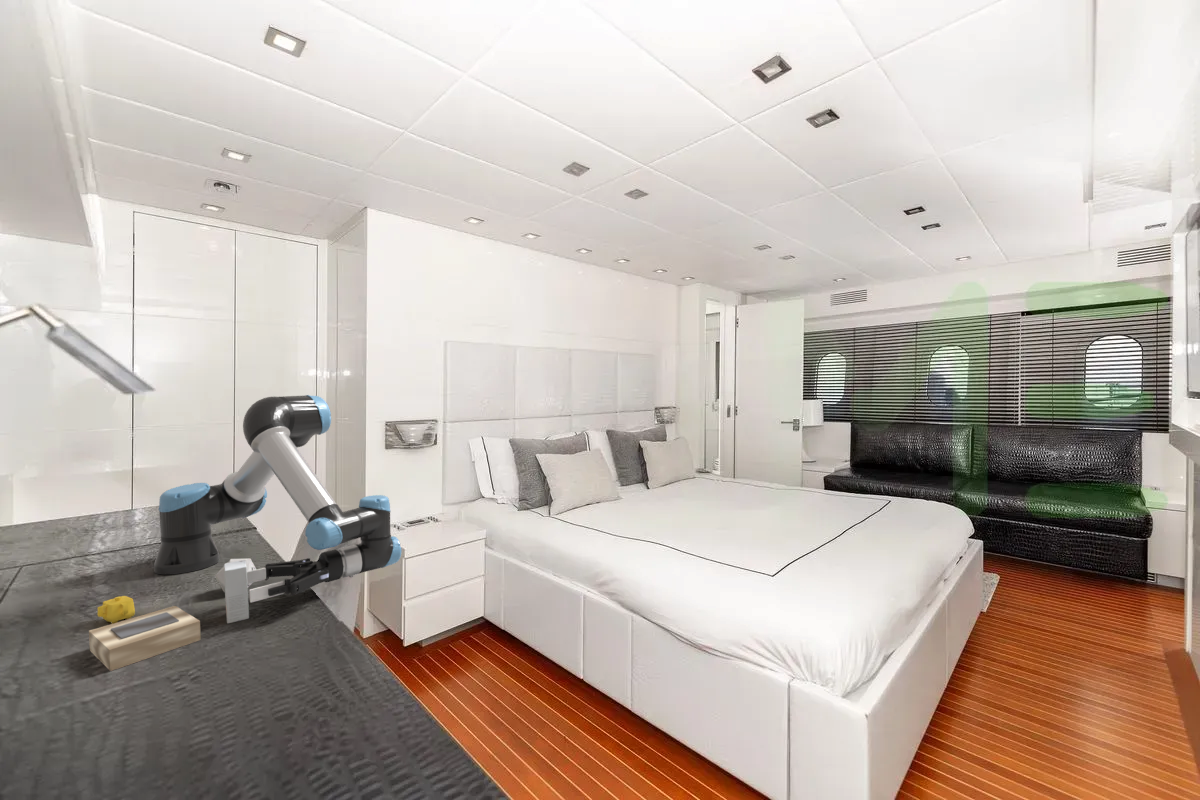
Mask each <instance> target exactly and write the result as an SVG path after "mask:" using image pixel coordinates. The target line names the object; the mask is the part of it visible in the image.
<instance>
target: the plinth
mask: <svg viewBox="0 0 1200 800" xmlns="http://www.w3.org/2000/svg"><path fill="white" fill-rule="evenodd" d="M201 636H202V635H201V621H200V619H198V618H196V617H194V616H193V615H192V614H190V613H188V612H186V611H184V610H183V609H181V608H180V607H178V606H176V605H172V606H169V607H165V608H162V609H159V610H155V611H151V612H148V613H145V614H142V615H138V616H135V617H134V616H133V617H131V618H130V619H125V620H124V619H123V620H120V621H118V622H117V623H114V624H111V623H110V624H107V625H104V626H100V627H97V628H93V629H90V630H88V643H89V651H90V652H91V654H92V655H94V656H95V658H97V659H98V660H99V661H100V662H101V664H103V665H104V666H105V668H107V669H108V671H110V672H112V671H115V670H118V669H121V668H123V667H127V666H129V665H132V664H135V663H138V662H142V661H144V660H146V659H149V658H152V657H156V656H159V655H162V654H164V653H167V652H170V651H173V650H176V649H178V648H182V647H184V646H187V645H190V644H193V643H196V642H198V641H201V640H202V638H201Z"/></svg>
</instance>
